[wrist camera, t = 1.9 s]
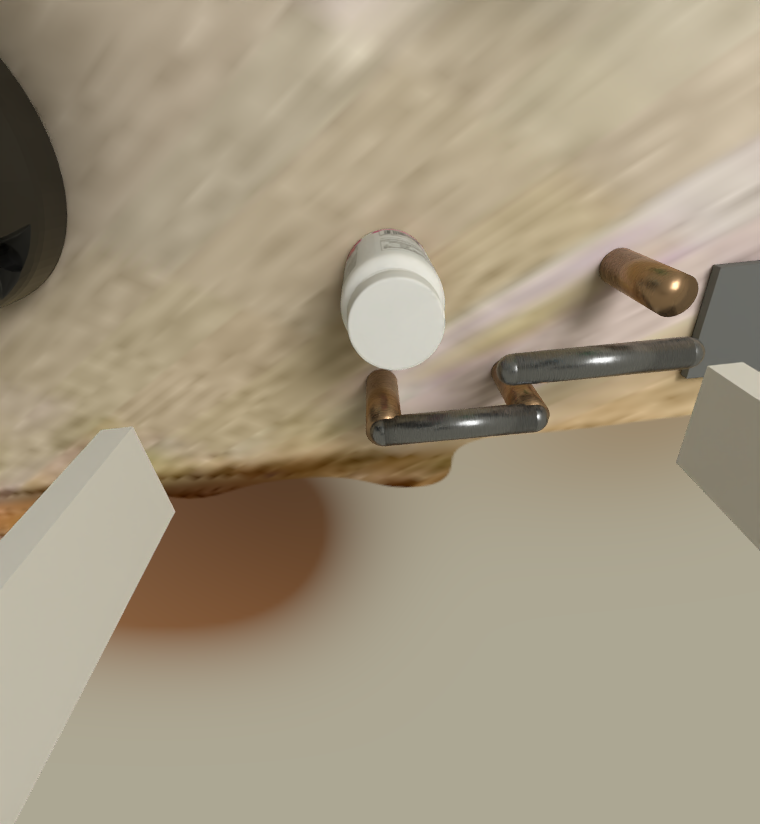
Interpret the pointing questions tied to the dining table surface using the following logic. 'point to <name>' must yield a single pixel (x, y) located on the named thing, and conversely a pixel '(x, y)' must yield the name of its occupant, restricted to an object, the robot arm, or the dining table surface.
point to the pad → (729, 318)
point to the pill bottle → (392, 301)
